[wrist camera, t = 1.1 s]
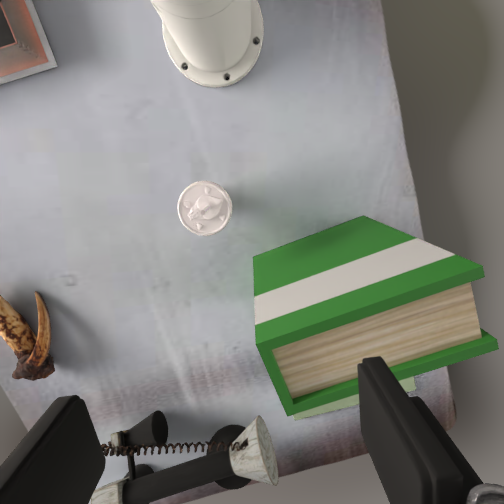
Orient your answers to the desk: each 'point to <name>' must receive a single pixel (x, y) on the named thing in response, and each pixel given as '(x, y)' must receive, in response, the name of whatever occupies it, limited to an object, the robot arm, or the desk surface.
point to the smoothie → (204, 208)
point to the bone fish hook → (28, 340)
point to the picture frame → (22, 41)
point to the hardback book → (361, 310)
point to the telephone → (192, 472)
